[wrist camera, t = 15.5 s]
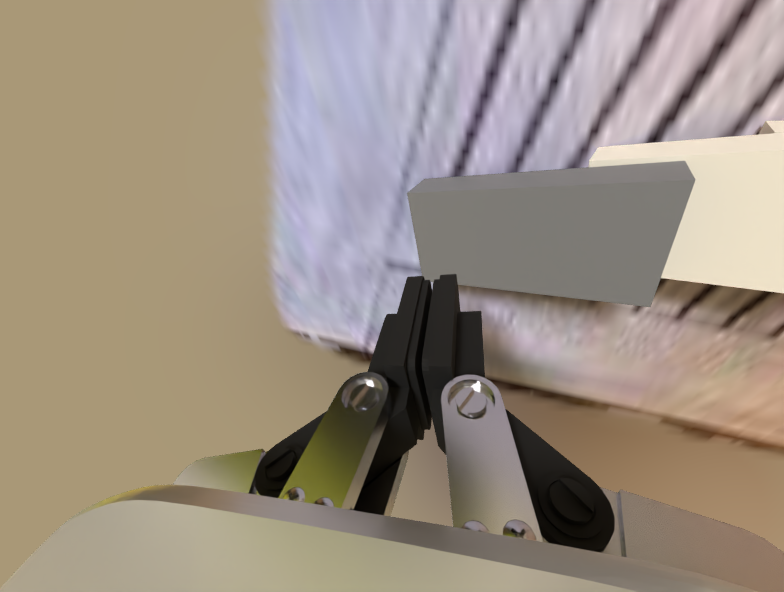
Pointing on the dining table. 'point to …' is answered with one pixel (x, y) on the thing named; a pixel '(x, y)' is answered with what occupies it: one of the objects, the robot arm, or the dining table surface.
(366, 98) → the dining table surface
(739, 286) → the ivory domino
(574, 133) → the dining table surface
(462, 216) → the slate domino
